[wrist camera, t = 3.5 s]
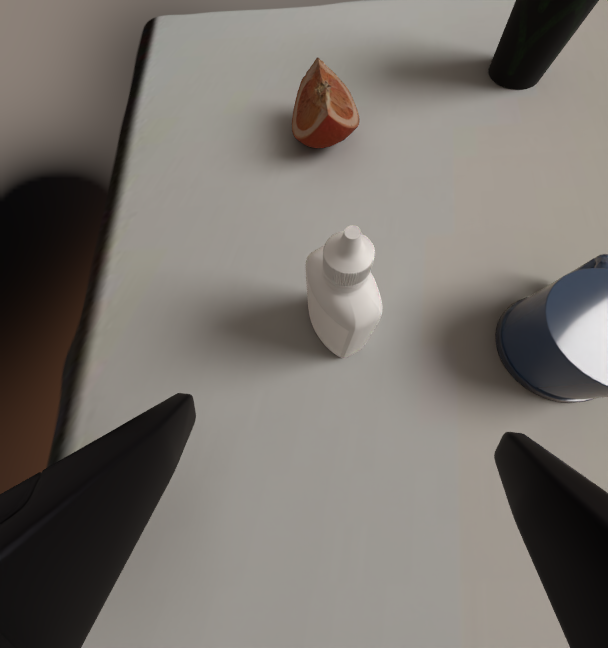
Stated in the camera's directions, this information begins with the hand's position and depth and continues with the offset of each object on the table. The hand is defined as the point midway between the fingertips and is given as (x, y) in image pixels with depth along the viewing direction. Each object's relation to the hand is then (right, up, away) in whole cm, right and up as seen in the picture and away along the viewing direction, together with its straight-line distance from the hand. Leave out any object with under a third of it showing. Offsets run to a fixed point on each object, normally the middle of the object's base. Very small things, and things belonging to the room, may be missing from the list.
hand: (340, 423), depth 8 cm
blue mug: (+18, +1, +14) cm, 23 cm away
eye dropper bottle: (+1, +3, +15) cm, 15 cm away
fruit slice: (+1, +23, +22) cm, 32 cm away
